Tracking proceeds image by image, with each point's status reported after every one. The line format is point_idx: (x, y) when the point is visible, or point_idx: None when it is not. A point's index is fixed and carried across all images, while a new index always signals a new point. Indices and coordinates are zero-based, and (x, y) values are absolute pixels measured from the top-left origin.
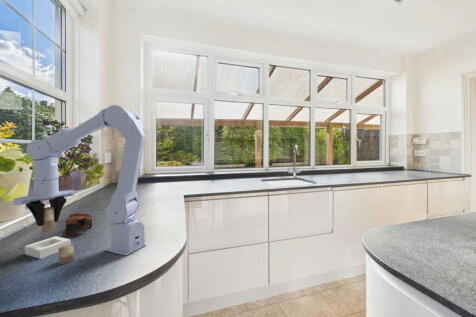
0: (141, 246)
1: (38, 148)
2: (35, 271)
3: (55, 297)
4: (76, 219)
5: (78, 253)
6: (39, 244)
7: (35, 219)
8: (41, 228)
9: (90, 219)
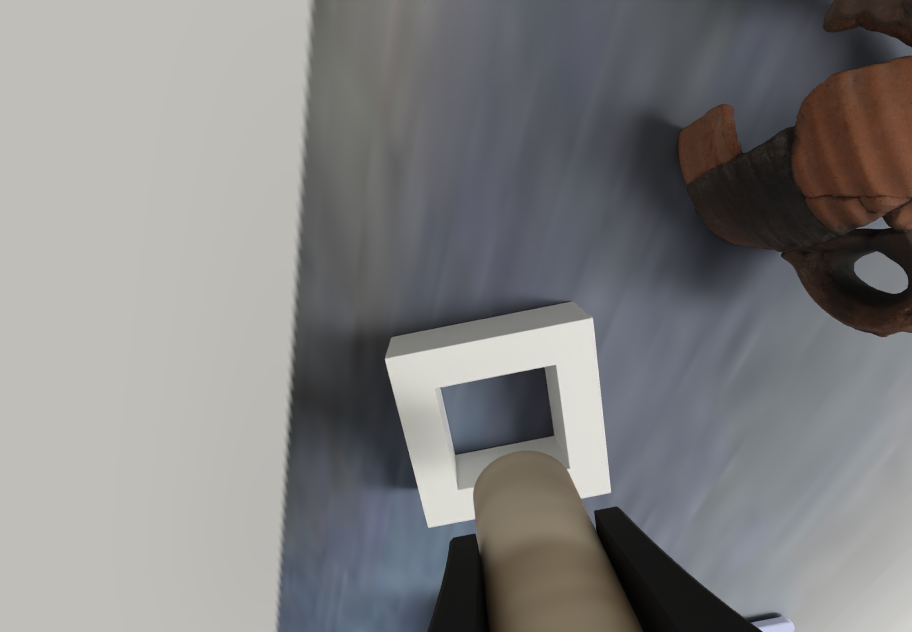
0: None
1: None
2: (380, 608)
3: None
4: (890, 208)
5: None
6: (464, 378)
7: (441, 601)
8: (477, 530)
9: None
